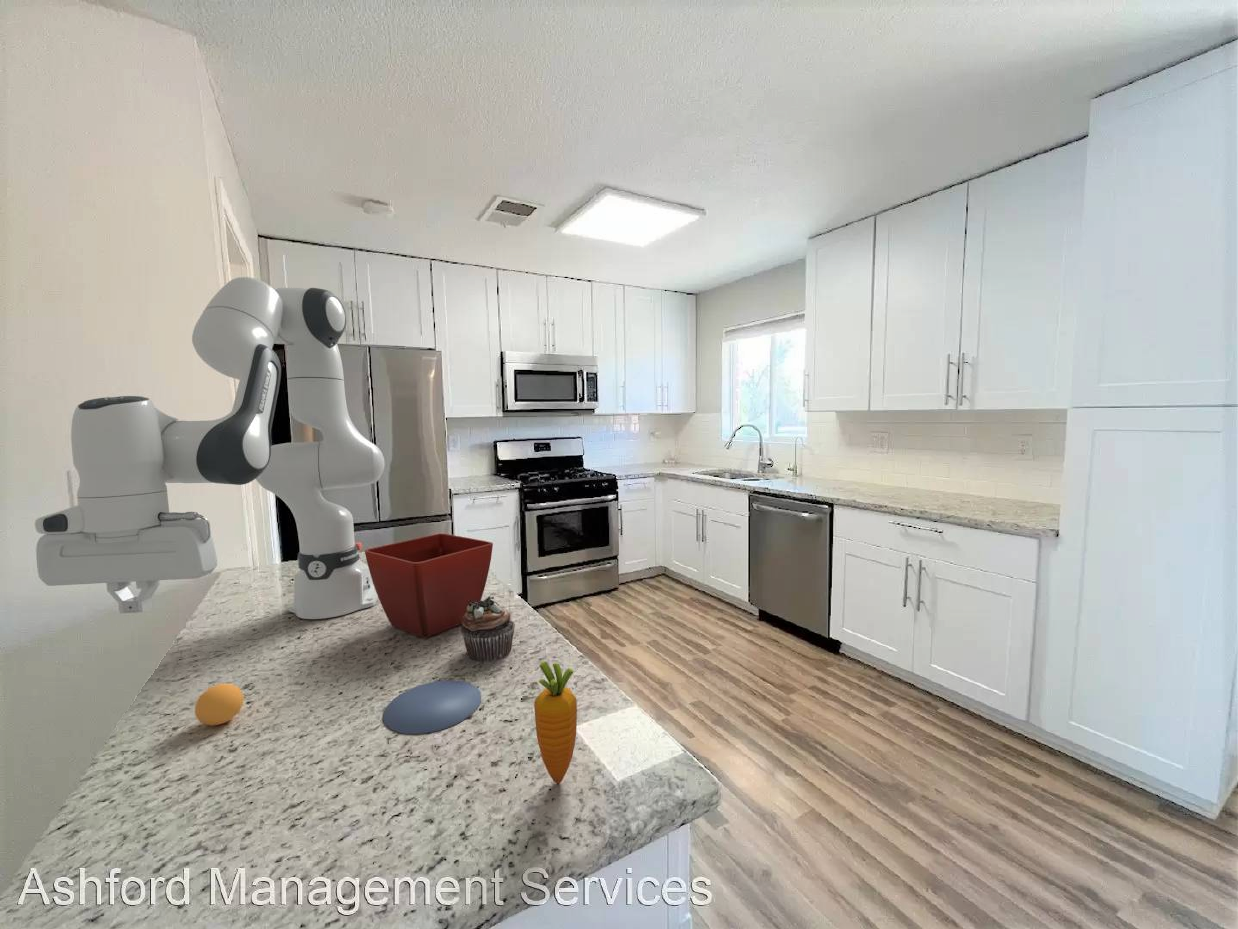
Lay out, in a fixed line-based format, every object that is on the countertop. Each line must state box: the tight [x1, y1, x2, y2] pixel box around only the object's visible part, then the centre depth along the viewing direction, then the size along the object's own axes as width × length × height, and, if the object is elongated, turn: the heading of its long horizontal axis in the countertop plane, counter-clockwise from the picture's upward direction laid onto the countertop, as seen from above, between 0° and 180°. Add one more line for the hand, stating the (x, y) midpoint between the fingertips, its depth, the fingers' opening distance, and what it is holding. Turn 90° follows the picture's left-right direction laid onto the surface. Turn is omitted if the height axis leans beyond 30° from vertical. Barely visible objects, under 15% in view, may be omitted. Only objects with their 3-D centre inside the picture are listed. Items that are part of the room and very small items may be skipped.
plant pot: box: [364, 533, 494, 639], centre depth 107 cm, size 19×19×17 cm
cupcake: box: [460, 595, 516, 663], centre depth 93 cm, size 10×10×10 cm
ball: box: [194, 683, 244, 726], centre depth 73 cm, size 6×6×6 cm
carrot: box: [533, 660, 578, 785], centre depth 59 cm, size 5×5×15 cm
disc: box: [382, 679, 482, 735], centre depth 76 cm, size 14×14×1 cm
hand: (136, 611), depth 70 cm, fingers closed
